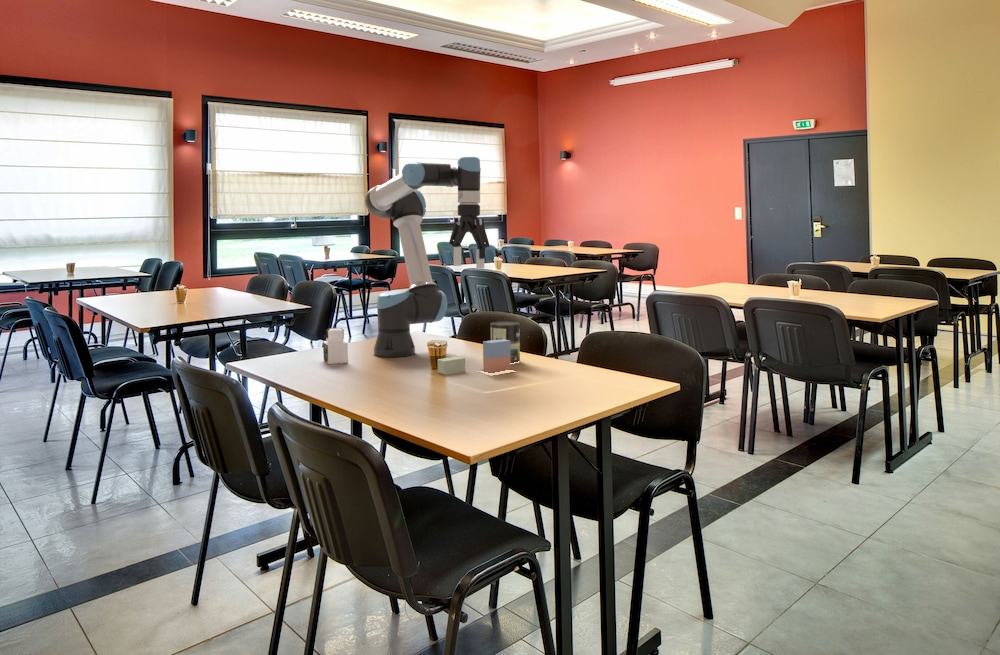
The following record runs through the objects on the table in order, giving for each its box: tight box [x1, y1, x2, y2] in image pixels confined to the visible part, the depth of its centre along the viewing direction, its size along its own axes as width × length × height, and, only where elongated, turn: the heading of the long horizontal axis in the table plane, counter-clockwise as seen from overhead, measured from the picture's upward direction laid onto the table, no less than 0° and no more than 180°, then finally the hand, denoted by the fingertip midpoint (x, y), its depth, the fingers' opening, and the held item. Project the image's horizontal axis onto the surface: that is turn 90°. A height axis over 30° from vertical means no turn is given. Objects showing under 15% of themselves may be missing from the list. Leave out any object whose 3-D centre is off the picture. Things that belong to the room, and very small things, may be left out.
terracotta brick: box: [482, 356, 511, 373], centre depth 238 cm, size 8×4×5 cm, turn 127°
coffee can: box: [489, 320, 521, 363], centre depth 253 cm, size 10×10×14 cm
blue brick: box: [482, 339, 510, 359], centre depth 237 cm, size 8×4×5 cm, turn 126°
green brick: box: [437, 356, 466, 375], centre depth 237 cm, size 8×4×5 cm, turn 127°
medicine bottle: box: [322, 327, 349, 365], centre depth 257 cm, size 7×7×12 cm
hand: (468, 267), depth 250 cm, fingers open, 13 cm apart
